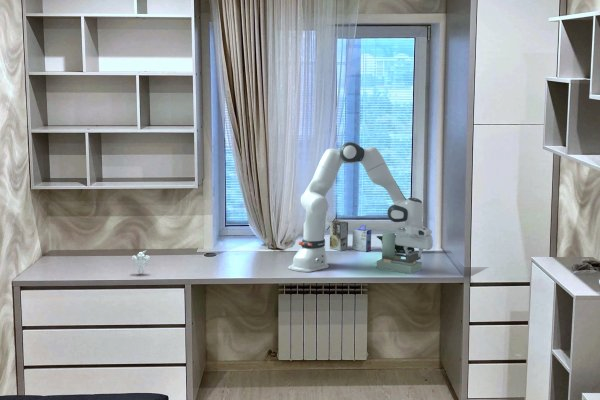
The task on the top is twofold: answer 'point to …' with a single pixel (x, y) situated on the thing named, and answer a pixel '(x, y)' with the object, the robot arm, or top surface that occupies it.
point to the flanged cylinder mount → (389, 251)
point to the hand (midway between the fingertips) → (413, 255)
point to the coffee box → (339, 235)
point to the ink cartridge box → (361, 239)
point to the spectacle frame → (409, 257)
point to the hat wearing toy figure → (141, 262)
